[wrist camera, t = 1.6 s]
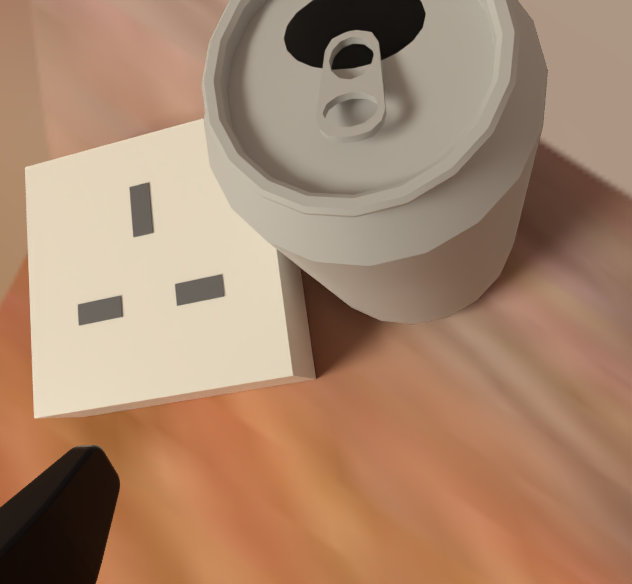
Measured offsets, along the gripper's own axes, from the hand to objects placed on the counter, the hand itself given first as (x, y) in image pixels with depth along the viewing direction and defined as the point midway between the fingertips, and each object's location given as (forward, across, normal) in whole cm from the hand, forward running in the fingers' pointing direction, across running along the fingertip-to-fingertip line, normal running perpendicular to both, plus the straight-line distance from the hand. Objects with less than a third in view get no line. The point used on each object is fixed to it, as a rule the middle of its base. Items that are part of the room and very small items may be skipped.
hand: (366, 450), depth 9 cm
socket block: (+14, +9, +4) cm, 17 cm away
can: (+14, 0, +4) cm, 15 cm away
